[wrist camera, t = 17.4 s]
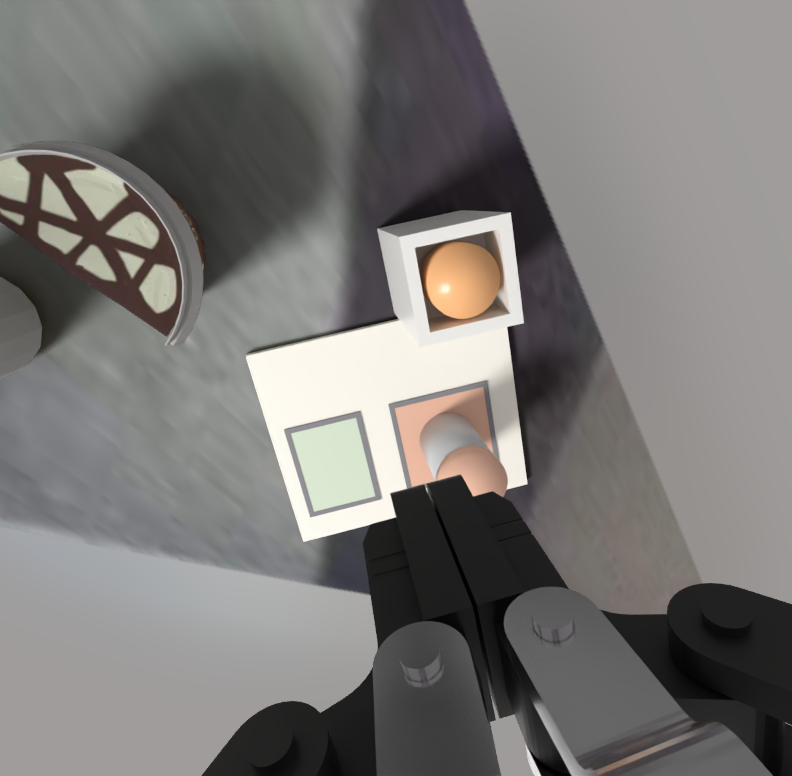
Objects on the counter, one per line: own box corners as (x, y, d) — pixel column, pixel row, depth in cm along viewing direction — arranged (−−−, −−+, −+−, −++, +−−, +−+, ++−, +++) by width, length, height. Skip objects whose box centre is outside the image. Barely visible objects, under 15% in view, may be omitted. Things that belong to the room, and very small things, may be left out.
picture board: (246, 353, 38) (245, 356, 38) (500, 295, 40) (503, 296, 39) (303, 537, 44) (303, 542, 43) (524, 480, 45) (527, 484, 44)
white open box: (377, 228, 37) (399, 236, 27) (460, 210, 37) (510, 212, 28) (394, 312, 39) (420, 347, 30) (473, 294, 39) (523, 322, 30)
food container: (263, 244, 36) (245, 258, 27) (209, 314, 37) (174, 352, 28) (93, 108, 32) (3, 70, 23) (38, 191, 33) (-70, 186, 24)
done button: (413, 248, 30) (421, 252, 28) (481, 233, 30) (495, 236, 28) (425, 317, 32) (434, 326, 29) (490, 301, 32) (504, 309, 30)
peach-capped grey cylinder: (413, 419, 41) (433, 463, 34) (470, 404, 41) (502, 446, 34) (423, 470, 43) (445, 523, 36) (479, 456, 43) (511, 506, 36)
